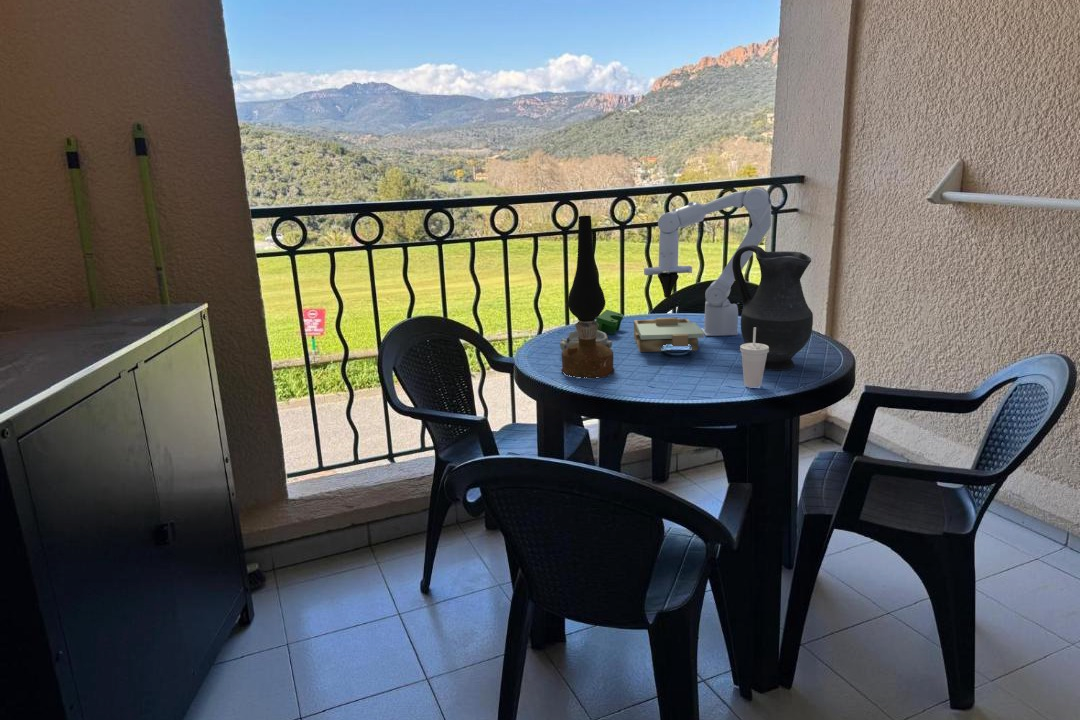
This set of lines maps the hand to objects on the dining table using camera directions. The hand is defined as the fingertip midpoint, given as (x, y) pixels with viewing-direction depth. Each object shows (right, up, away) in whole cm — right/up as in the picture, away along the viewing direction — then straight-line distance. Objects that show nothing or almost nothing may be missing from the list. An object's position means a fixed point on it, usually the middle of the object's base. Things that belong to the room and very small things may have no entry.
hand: (667, 297), depth 207 cm
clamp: (-17, -11, +4) cm, 21 cm away
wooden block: (-9, -13, -18) cm, 24 cm away
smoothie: (+11, -26, -49) cm, 56 cm away
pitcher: (+19, -20, -33) cm, 44 cm away
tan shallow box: (-3, -14, -11) cm, 18 cm away
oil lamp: (-27, -22, -33) cm, 48 cm away
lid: (-3, -13, -20) cm, 25 cm away
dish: (-26, -17, -16) cm, 35 cm away
